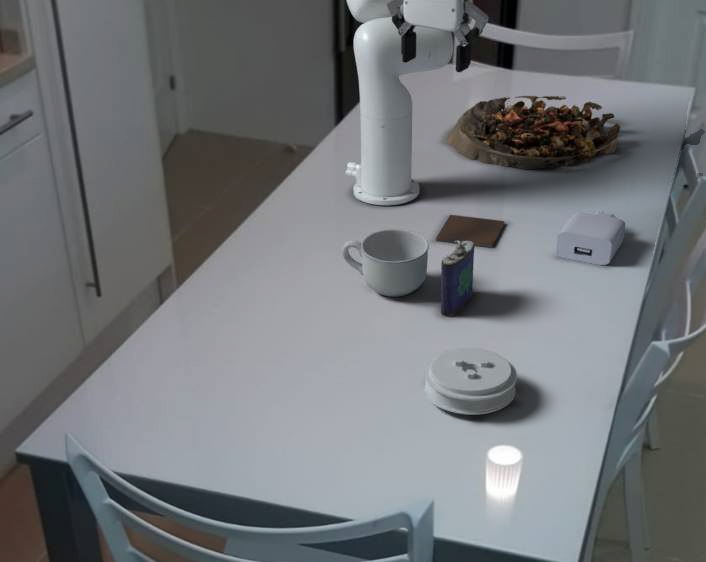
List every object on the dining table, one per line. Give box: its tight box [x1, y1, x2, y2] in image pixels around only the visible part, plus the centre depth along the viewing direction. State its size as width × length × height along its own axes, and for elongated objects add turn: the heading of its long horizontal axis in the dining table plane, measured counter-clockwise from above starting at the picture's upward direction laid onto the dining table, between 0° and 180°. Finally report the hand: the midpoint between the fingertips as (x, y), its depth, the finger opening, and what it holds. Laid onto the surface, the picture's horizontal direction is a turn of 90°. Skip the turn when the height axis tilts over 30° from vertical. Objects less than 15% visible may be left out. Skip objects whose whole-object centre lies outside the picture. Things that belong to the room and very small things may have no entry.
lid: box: [423, 347, 518, 416], centre depth 151 cm, size 13×13×5 cm
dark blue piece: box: [440, 240, 475, 317], centre depth 169 cm, size 9×3×11 cm, turn 152°
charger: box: [555, 211, 626, 266], centre depth 187 cm, size 5×9×15 cm
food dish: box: [445, 95, 621, 170], centre depth 225 cm, size 35×33×8 cm
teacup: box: [341, 228, 430, 298], centre depth 175 cm, size 14×11×8 cm
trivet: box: [435, 214, 505, 248], centre depth 193 cm, size 10×10×1 cm
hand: (435, 65), depth 172 cm, fingers open, 9 cm apart
